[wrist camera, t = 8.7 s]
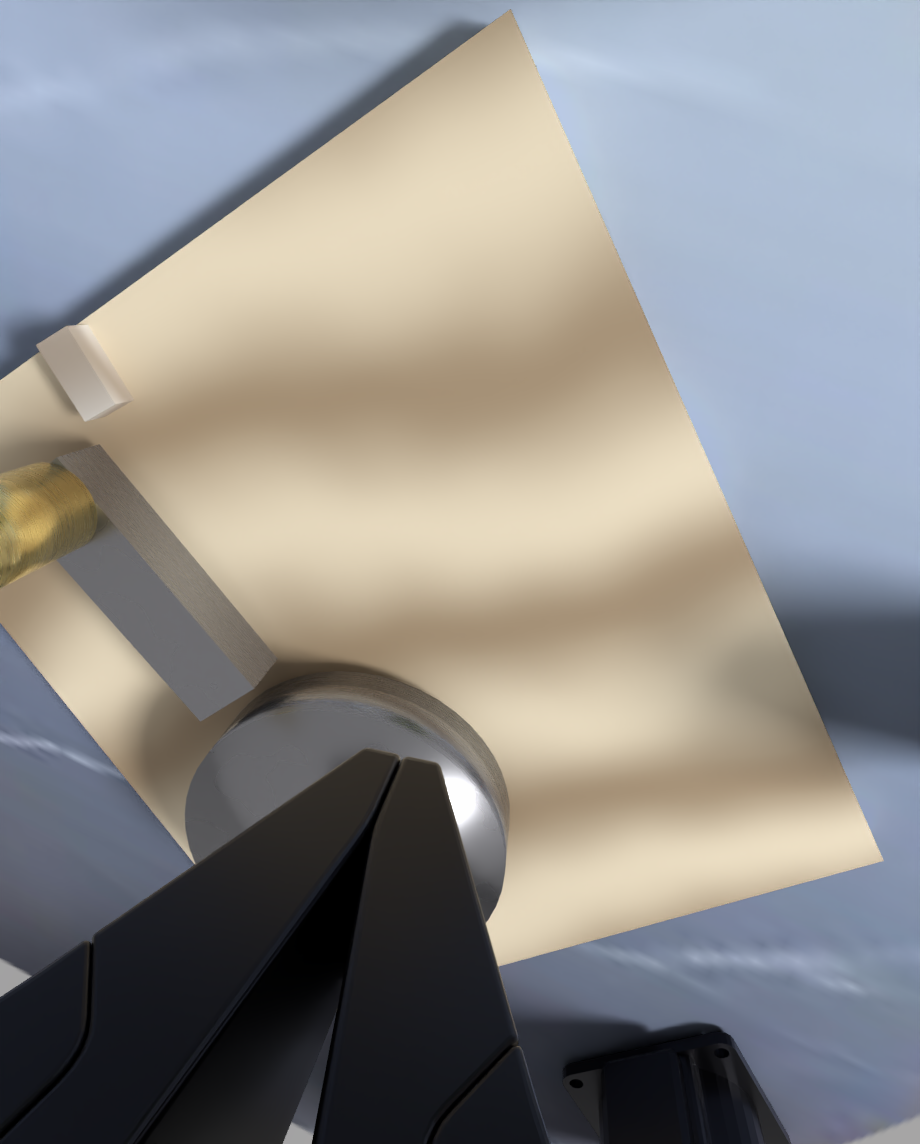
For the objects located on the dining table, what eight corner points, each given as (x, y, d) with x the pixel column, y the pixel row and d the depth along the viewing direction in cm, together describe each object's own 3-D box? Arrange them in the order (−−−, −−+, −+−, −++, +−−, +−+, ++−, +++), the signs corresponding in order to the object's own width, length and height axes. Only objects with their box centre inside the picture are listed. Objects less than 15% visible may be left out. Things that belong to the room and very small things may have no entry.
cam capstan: (568, 851, 20) (572, 1041, 15) (339, 949, 23) (275, 1136, 18) (185, 352, 16) (10, 374, 11) (-35, 544, 19) (-257, 634, 14)
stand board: (868, 835, 20) (896, 882, 19) (325, 990, 26) (309, 1037, 24) (513, 28, 14) (507, -9, 13) (-92, 462, 20) (-150, 476, 18)
